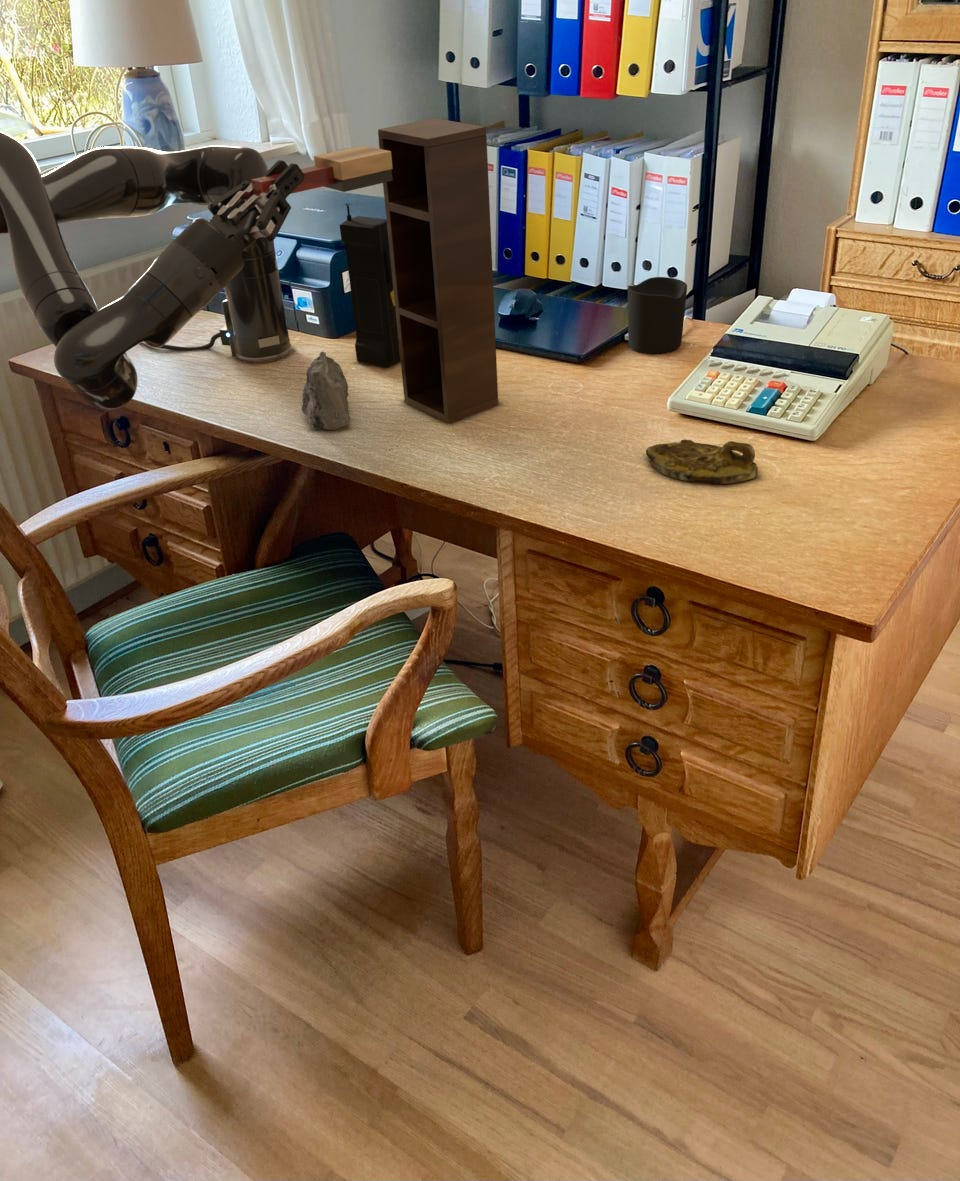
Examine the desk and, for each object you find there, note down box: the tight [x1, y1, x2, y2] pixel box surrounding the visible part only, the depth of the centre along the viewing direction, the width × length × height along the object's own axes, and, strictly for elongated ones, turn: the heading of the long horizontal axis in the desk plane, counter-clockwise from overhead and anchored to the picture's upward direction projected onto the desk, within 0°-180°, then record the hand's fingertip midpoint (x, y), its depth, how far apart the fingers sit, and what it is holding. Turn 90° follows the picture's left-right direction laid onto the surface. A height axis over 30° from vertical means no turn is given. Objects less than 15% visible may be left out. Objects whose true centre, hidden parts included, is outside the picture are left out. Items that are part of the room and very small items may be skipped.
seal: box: [645, 439, 758, 485], centre depth 133 cm, size 9×5×15 cm
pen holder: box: [627, 276, 688, 355], centre depth 167 cm, size 9×9×10 cm
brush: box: [251, 145, 393, 199], centre depth 126 cm, size 6×18×4 cm, turn 130°
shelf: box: [377, 117, 499, 425], centre depth 144 cm, size 11×10×39 cm
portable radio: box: [339, 203, 401, 368], centre depth 164 cm, size 8×6×25 cm
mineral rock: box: [301, 351, 351, 431], centre depth 152 cm, size 13×11×10 cm
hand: (292, 168), depth 123 cm, fingers closed on brush, 2 cm apart
